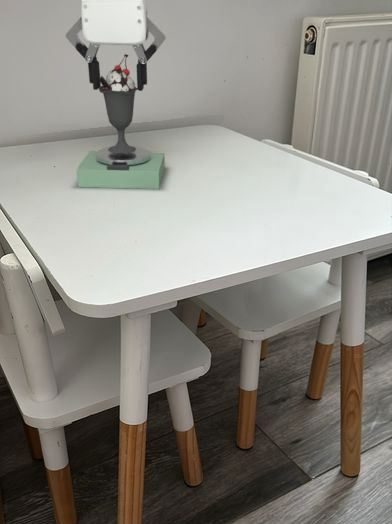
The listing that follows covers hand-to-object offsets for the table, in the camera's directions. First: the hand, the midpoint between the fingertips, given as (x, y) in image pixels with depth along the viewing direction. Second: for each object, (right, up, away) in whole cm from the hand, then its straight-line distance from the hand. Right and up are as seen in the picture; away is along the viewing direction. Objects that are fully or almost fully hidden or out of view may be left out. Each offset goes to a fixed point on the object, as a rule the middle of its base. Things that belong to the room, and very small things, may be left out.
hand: (118, 88), depth 93 cm
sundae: (0, -8, +6) cm, 10 cm away
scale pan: (0, -9, +6) cm, 11 cm away
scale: (0, -13, +8) cm, 15 cm away
